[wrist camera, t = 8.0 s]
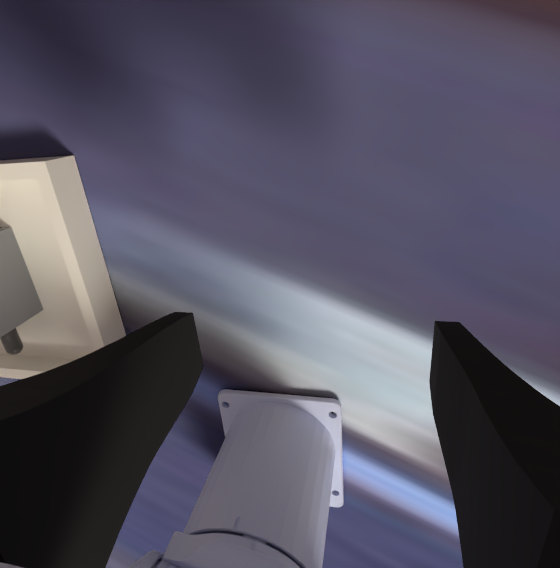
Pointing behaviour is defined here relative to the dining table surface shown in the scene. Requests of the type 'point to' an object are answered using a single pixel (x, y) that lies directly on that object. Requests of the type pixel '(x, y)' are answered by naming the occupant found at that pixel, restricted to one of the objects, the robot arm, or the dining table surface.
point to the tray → (56, 266)
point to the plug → (14, 292)
